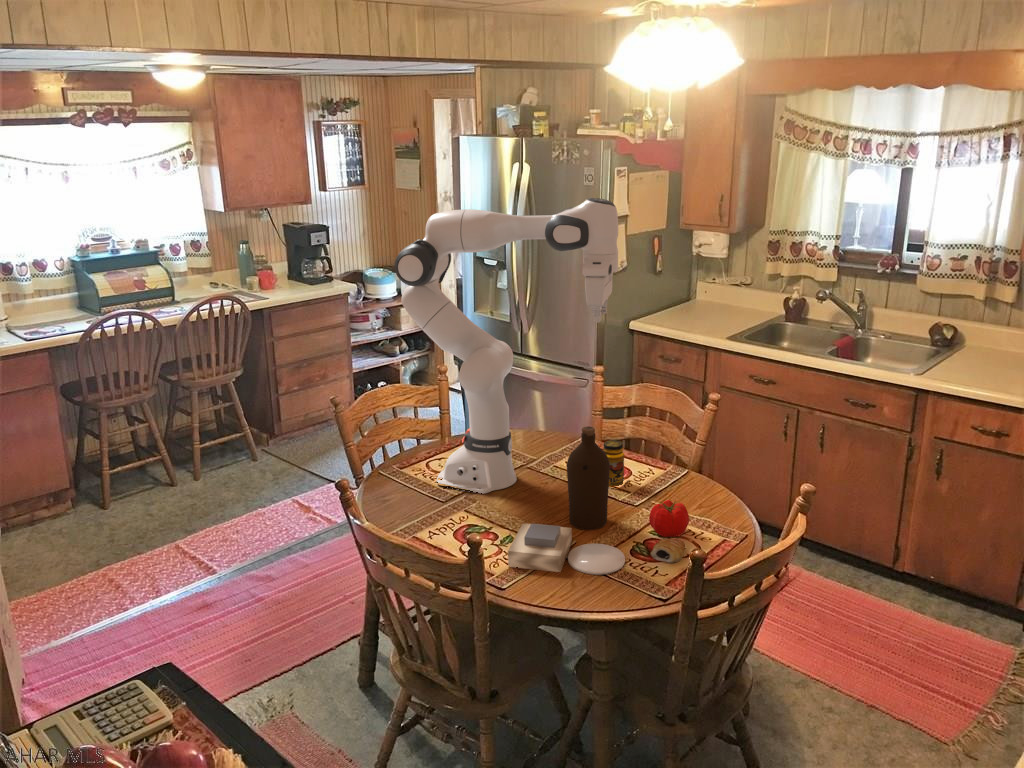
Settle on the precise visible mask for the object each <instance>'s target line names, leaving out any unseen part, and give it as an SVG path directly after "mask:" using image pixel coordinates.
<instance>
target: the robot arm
mask: <svg viewBox="0 0 1024 768" xmlns="http://www.w3.org/2000/svg"><path fill="white" fill-rule="evenodd" d="M424 231H425V235H424V237H423V239H421V238H419V239H416V240H415V241H414V242H412V243H411V244H409V245H407V246H406V247H404V248H403V249H402V250H401V251H399V253H398V255H397V256H396V258H395V261H394V271H395V272H394V273H395V274H396V276H397V278H398V279H399V280H400V281H401V282H402V283H403V284H405V285H407V286H406V287H405V288H404V290H403V292H402V295H401V300H400V301H401V304H402V306H403V308H404V310H405V311H406V312H407V313H408V315H409V316H410V317H411V319H412V320H413V321H414V323H415V324H416V325H417V326H418V327H419V328H420V329H421V331H423V332H424V333H425V334H426V335H427V337H428V338H430V340H431V341H433V342H434V343H435V344H436V345H437V346H438V348H439V349H441V350H442V351H444V352H446V353H449V354H451V355H453V356H455V357H457V358H458V359H460V360H461V361H463V362H462V363H461V367H460V370H459V373H458V380H459V383H460V385H461V387H462V388H463V390H464V395H465V397H466V402H467V407H468V417H469V418H468V421H469V424H468V425H469V428H468V429H467V430H465V434H464V435H463V438H462V439H461V443H462V444H463V445H462V446H461V447H459V448H458V449H456V450H455V451H453V453H451V454H450V455H449V456H448V458H447V459H446V461H445V464H444V469H442V470H441V471H440V472H439V474H438V475H437V478H436V483H437V482H438V483H440V484H445V485H449V486H454V487H458V488H462V489H467V490H470V491H473V492H472V493H476V492H478V493H477V494H481V493H482V494H488V493H490V492H492V491H497V490H502V489H507V488H509V487H511V486H512V485H514V484H515V483H517V480H518V479H517V475H516V472H515V469H514V466H513V464H514V463H513V459H512V450H513V440H512V432H511V431H510V407H509V404H508V402H507V399H506V395H505V391H504V380H505V378H506V376H507V375H508V374H509V373H510V372H511V370H512V367H513V364H514V353H513V350H512V348H511V347H510V345H509V344H508V343H506V342H505V341H503V340H499V339H497V338H495V336H493V335H492V334H490V333H489V332H487V331H485V330H484V329H483V328H481V327H480V326H478V325H477V324H476V323H474V322H473V321H472V320H471V319H470V318H469V317H467V315H466V314H464V312H463V311H462V310H461V309H460V308H459V307H458V306H456V305H455V303H453V301H451V299H450V298H448V296H446V294H445V293H444V291H442V290H441V287H440V285H439V284H441V283H442V282H443V281H444V278H445V275H446V274H447V273H448V270H449V268H450V265H451V262H452V253H453V254H454V253H470V254H471V253H483V252H488V251H492V250H495V249H498V248H500V247H502V246H505V245H507V244H510V243H513V242H517V241H523V240H524V241H525V240H545V241H546V243H547V244H548V245H549V246H550V248H552V249H553V250H556V251H559V252H563V253H564V252H570V251H573V250H579V249H581V250H582V273H581V274H582V276H583V277H585V278H584V286H585V290H584V291H585V300H586V306H587V307H588V308H591V310H592V311H591V312H592V315H593V316H592V317H593V318H592V319H593V320H592V321H593V322H594V323H601V320H602V315H606V313H608V312H607V311H608V310H607V306H608V301H609V297H610V296H611V294H612V292H613V277H614V273H617V272H618V270H619V248H618V244H617V243H618V238H619V216H618V210H617V207H616V205H615V204H614V203H613V202H612V201H610V200H608V199H604V198H598V197H596V198H595V197H588V198H586V199H585V200H584V201H583V202H582V203H580V204H579V205H576V206H574V207H568V208H565V209H564V210H563V209H562V210H561V211H559V212H557V213H553V214H538V215H537V214H534V215H532V214H531V215H516V214H508V213H502V212H495V211H491V210H485V209H472V208H469V209H452V210H446V211H444V210H443V211H440V212H435V213H434V214H432V215H431V216H429V217H428V219H427V222H426V224H425V230H424ZM438 478H441V479H442V478H443V479H442V480H438ZM470 491H469V492H470Z"/></svg>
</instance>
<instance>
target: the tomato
mask: <svg viewBox="0 0 1024 768" xmlns="http://www.w3.org/2000/svg"><path fill="white" fill-rule="evenodd" d="M677 502H678V501H675V502H673V501H671V500H670V499H666V500H665V501H663V502H661V503H657V504H654V506H652V508H651V510H650V513H649V517H648V522H649V525H650V527H651V528H652V529H653V531H654V532H655V533H656V534H657V535H659V536H660V537H664V538H677V537H680V536H681V535H684V533H685V532H686V530H687V528H688V526H689V522H690V514H689V513H688V512H689V511H688V509H687V507H686V506H685V505H684V504H683V503H682V502H678V503H677Z"/></svg>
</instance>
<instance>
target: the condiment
mask: <svg viewBox="0 0 1024 768" xmlns="http://www.w3.org/2000/svg"><path fill="white" fill-rule="evenodd" d="M623 445H624V444H623V442H621V441H619V440H607V441H605V442H604V443H603V449H602V450H603V451H604V452H605V453H606V455H607V457H608V459H609V463H610V474H609V486H619V485H622V484H623V481H624V479H625V453H624V446H623Z"/></svg>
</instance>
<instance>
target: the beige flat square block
mask: <svg viewBox="0 0 1024 768" xmlns="http://www.w3.org/2000/svg"><path fill="white" fill-rule="evenodd" d="M530 525H531V523H522V524H521V526H520V527H519V529H518V531H517V533H516V535H515V537H514V539H513V541H512V543H511V545H510V547H509V548H508V549H507V560H508V561H507V562H508V563H507V564H508V565H507V566H511V567H510V568H516V567H518V568H517V569H527V570H535V571H537V570H538V571H544V572H553V573H554V572H555V573H561V571H562V569H563V566H564V565H565V561H566V559H567V558H568V554H569V552H570V551H569V550H570V549H571V546H572V543H573V538H572V537H573V533H572V532H573V529H572V527H566V526H565V527H564V526H561V534H560V536H559V539H558V541H557V543H556V546H555V548H550V547H540V546H530V545H525V542H524V537H525V535H526V533H527V531H528V529H529V527H530Z"/></svg>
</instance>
